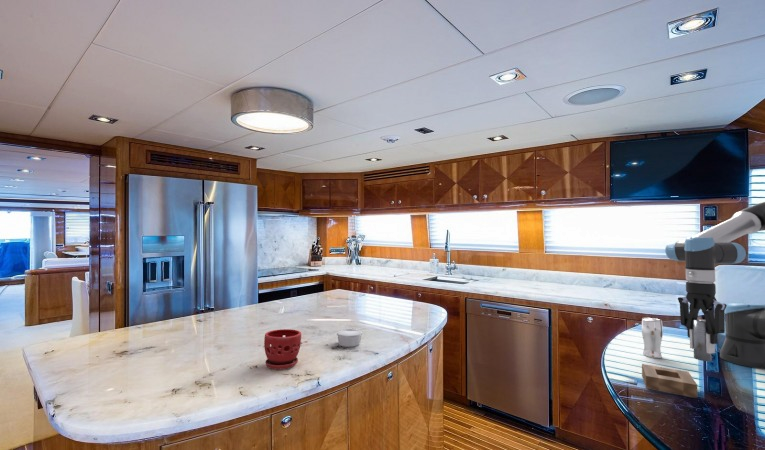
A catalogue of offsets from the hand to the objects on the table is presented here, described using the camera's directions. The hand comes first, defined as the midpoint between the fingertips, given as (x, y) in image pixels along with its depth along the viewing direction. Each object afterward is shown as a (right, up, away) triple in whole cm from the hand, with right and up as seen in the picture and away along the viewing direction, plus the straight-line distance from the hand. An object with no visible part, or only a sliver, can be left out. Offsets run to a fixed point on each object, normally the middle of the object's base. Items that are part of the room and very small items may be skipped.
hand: (702, 350), depth 118 cm
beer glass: (+2, -12, +25) cm, 28 cm away
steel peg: (0, -3, 0) cm, 3 cm away
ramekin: (-124, -10, +36) cm, 130 cm away
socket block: (-15, -10, -4) cm, 19 cm away
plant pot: (-146, -9, +10) cm, 147 cm away
